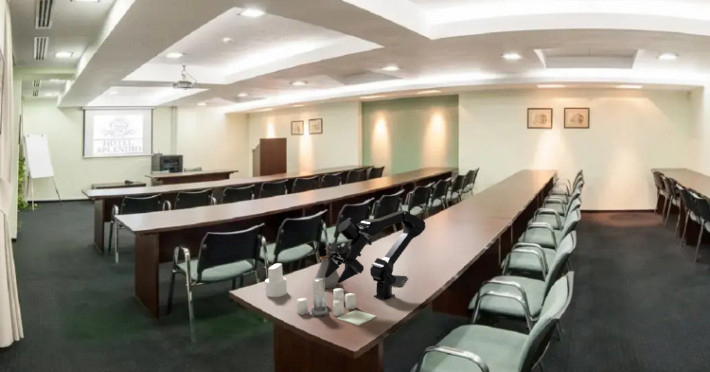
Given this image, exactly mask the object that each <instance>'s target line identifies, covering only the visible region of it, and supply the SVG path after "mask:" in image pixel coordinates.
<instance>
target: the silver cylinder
mask: <svg viewBox="0 0 710 372" xmlns="http://www.w3.org/2000/svg"><path fill="white" fill-rule="evenodd" d="M325 293H326V288H325V279H323V278H316V279H315V278H314V279H312V296H313V298H312V299H313V301H312V302H313V307H312V308H311V316H313V317H315V318H316V317H317V318H319V317H320V318H321V317H326V316H327V315H328V313H329V311H328V307H327V306H326V307H325Z"/></svg>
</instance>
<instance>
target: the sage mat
mask: <svg viewBox="0 0 710 372" xmlns="http://www.w3.org/2000/svg"><path fill="white" fill-rule="evenodd" d="M375 318H377V315H375V314H372V313H371V314H370V313H368V312H364V311H362V310H361V311H360V310H356V309H353V310H352V311H350V312H348V313H344V315H342V316H337V320H338V321H342V322H346V323H348V324H352V325H356V326H361V325H363V324H365V323H368V322H369V321H371V320H373V319H375Z"/></svg>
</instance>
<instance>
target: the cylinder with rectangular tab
mask: <svg viewBox="0 0 710 372" xmlns="http://www.w3.org/2000/svg"><path fill="white" fill-rule="evenodd" d="M267 272H268V273H267V275H268V277H267V278H266V279H265V280H264V282H265V283H264V285H265V296H266V297H269V298H279V297H282V296H285V295H287V294H288V290H287V286H288V285H287V278H286V277H284V276H283V263H274V264H273V265H270V267H269V268H267Z"/></svg>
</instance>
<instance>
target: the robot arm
mask: <svg viewBox="0 0 710 372" xmlns="http://www.w3.org/2000/svg"><path fill="white" fill-rule="evenodd" d="M399 223H401V224H403V228H402V232H401V234H400V236H398V238H397V240H396V241H395V242H394V243H393V245H392V246H391V248H389V250H388V251H387V253H386V254H385V255H384V256H383V257H381V258H379V257H377V258H376V259H375V261H374V262H373V263H372V264H371V267H370V269H369V270H370V275H371V277H372V280H373V281H374V282H376V287H375V288H376V294H375V295H373V297H374V298H377V299H381V300H385V301H387V300H389V299H391V298H393V297H396V294H393V287H392V284H394V283H395V281H396V278H395V277H394V276H393V273H394V265H395V264H396V262H397V260H398V259H399V258H400V257H401V255H402V253H404V251H405V250H406V248H407V247H408V246H409V244H410V243H411V241H413V239H414V238H416V237H418V236H421V234H422V233H423V232H424V231H425V229H426V222H425V220H424V219H423V218H419V217H417V216H415V215H413V214H412V213H411V212H410V211H408V210H403V209H400V210H397V211H396V212H393V213H389V214H388V215H385V216H381V217H379V218H369V219H364V220H361V221H360V223H356V222H355V220H353V219H352V218H351V217H348V218H347V219H345V220H344V221H342V222H340V223H339V225H338V226H337V231H338V232H339V233H340V234H341V235H342V236H343V237H344V238H345V239H346V240H347V241H349V243H344V242H342V243H341V244H339V243H336V242H331V246H330V247H331V249H330V248H329V252H328V254H327V253H326V255H325V256H327V259H328V267H327V270H326V273H325V277H326V278H327V277H329V276H330V275H331V274H332V273H333V272H334V271H337V270H338V269H339V268H340V266H341V265H342V264H343V265H344V269H343V271H342V272H341V274H340V276H339V277H340V278H339V279H338V284H342V283H343V282H345V281H347V280H348V279H350V278H351V277H354V276H356V275H359V274H362V273H363V271H364V269H365V268H364V267H365V266H364V265H363V264H362V263H361V262H360V261H359V260H358V259H357V258H358V257H361V256H362V254H361V252H362V251H363V250H364V248H365V246H367V245H369V246H372V245H373V244H372V238H371V237H375V236H377V235H379V234H380V233H381V232H382V230H384V229H386V228H389V227H391V226H394V225H396V224H399ZM368 236H370V237H368Z"/></svg>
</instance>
